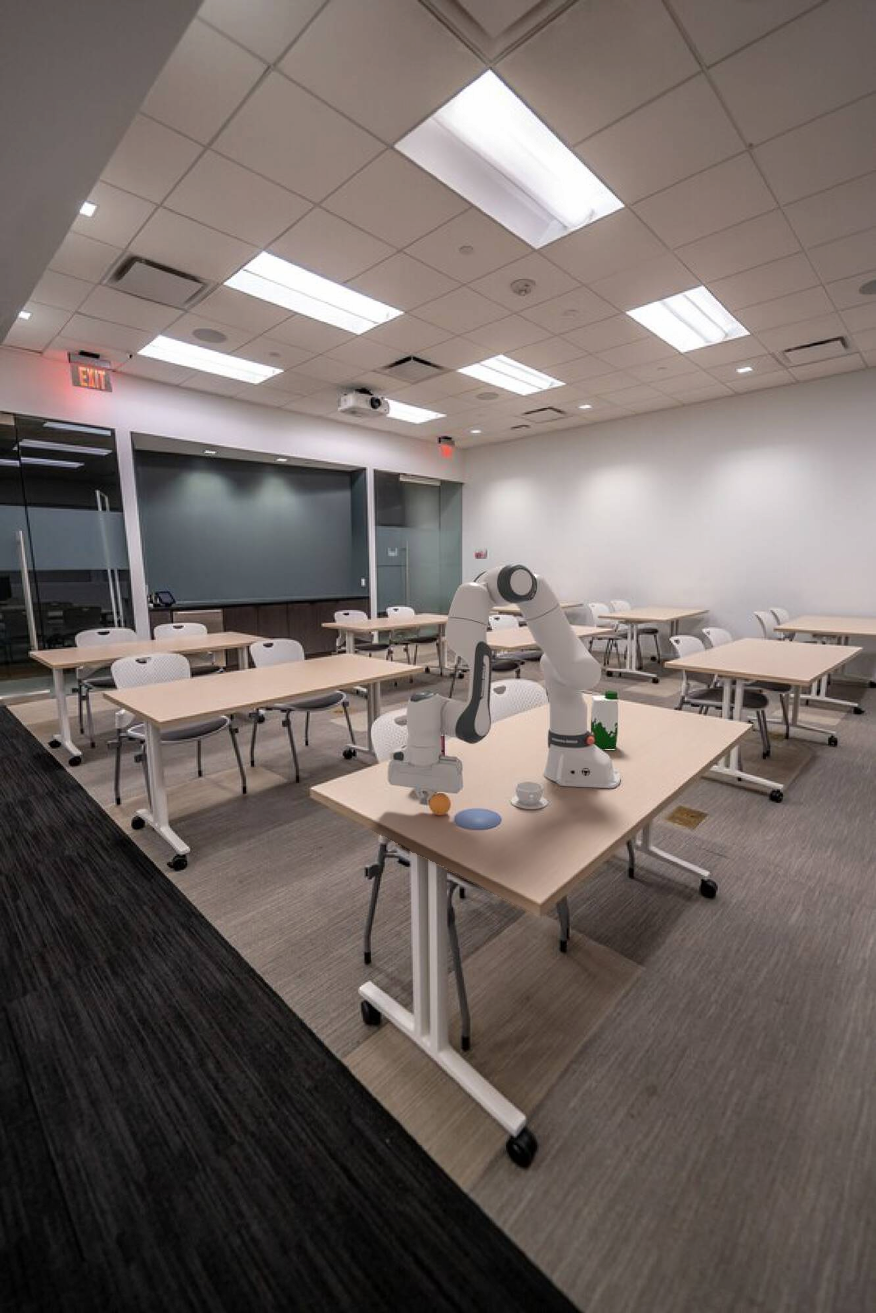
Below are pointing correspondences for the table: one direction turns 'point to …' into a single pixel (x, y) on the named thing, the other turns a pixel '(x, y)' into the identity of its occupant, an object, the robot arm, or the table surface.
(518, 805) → the teacup
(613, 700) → the milk carton
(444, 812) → the ball
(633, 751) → the table surface
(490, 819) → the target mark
